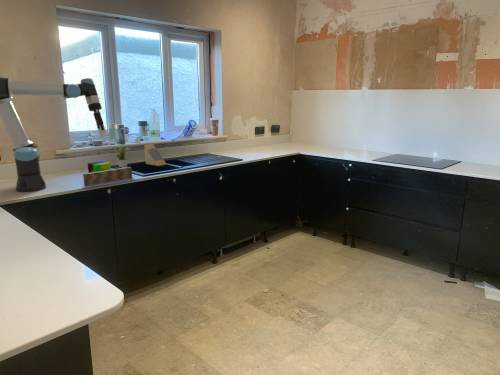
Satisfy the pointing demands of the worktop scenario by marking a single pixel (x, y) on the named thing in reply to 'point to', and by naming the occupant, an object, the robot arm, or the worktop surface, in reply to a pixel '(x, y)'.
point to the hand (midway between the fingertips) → (103, 137)
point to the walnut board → (107, 176)
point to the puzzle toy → (98, 166)
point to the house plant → (122, 158)
